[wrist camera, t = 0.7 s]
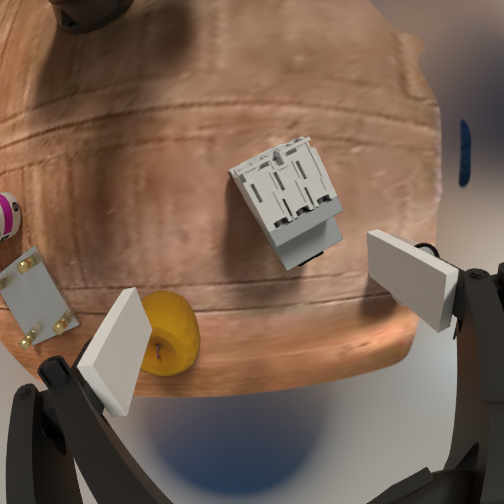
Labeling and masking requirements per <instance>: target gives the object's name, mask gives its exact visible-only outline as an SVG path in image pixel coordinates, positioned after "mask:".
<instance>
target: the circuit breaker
mask: <svg viewBox="0 0 504 504" xmlns="http://www.w3.org/2000/svg"><path fill="white" fill-rule="evenodd" d="M308 140H310V137H307V138H304V137H299V138H296V139H294V140H292V141H290V142H288V143H286V144H284V145H283V144H279V145H277V146H274V147H272V148H270V149H268V150H266V151H264V152H262V153H260V154H258V155H256V156H254V157H252V158H250V159H248V160H246V161H245V162H243V163H241V164H239V165H237V166H235V167H233V168H231V169H230V170H229V172H230V173H231V175H232V177H233V179H234V181H235V183H236V185H237V187H238V188H239V190H240V192H241V194H242V196H243V198H244V199H245V201H246V203H247V205H248V207H249V209H250V210H251V212H252V214H253V216H254V218H255V220H256V221H257V222H258V223H259V225H260V227H261V229H262V230H263V232H264V234H265V236H266V238H267V240H268V242H269V243H270V245H271V247H272V249H273V251H274V253H275V254H276V256H277V257H278V258H279V260H280V261H281V263H282V265H283V266H284V267H285V269H286V270H287V271H288V270H290V269H291V268H293V267H295V266H297V265H298V266H302V265H304V264H305V263H307V262H309V261H310V260H312V259H314V258H315V257H318V256H320V255H321V254H323V250H325V249H327V248H329V247H330V246H332V245H334V244H336V243H337V242H339V241H341V240H342V239H343V238H342V235H341V233H340V230H339V228H338V225H337V223H336V221H335V218H334V216H335V215H336V214H338V213H340V212H342V211H343V209H342V206H341V204H340V201H339V199H338V197H337V194H336V192H335V190H334V187H333V185H332V183H331V181H330V179H329V176H328V174H327V172H326V170H325V168H324V165H323V163H322V161H321V159H320V157H319V155H318V153H317V151H316V149H315V147H313V148H311V147H310V145H309V143H308Z"/></svg>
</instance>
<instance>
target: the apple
mask: <svg viewBox="0 0 504 504" xmlns="http://www.w3.org/2000/svg"><path fill="white" fill-rule="evenodd" d="M141 303H142V305H143V308H144V310H145V313H146V315H147V318H148V320H149V322H150V325H151V327H152V332H151V335H150V338H149V341H148V344H147V348H146V351H145V354H144V357H143V361H142V364H141V367H140V370H142V371H144V372H147V373H150V374H152V375H155V376H158V377H162V376H172V375H175V374H178V373H181V372H184V371H186V370H187V369H188V368H189V367H190V366H191V365H192V364H193V363H194V361H195V359H196V357H197V355H198V351H199V347H200V333H199V328H198V323H197V319H196V316H195V314H194V311H193V309H192V308H191V307H190V305H189V304H188V302H187V301H186V300H185V299H184V298H183V297H182V296H181V295H179V294H176V293H174V292H168V291H157V292H154V293H151V294H149V295H148V296H146V297H144V298H143V299H142V300H141Z"/></svg>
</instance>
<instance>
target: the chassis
mask: <svg viewBox="0 0 504 504" xmlns="http://www.w3.org/2000/svg"><path fill="white" fill-rule="evenodd" d="M0 293H1V295H2V297H3V298H4V300H5V302H6V304H7V306H8V307H9V309H10V311H11V312H12V314H13V316H14V317H15V319H16V321H17V322H18V324H19V325H20V327H21V329H22V330H23V332H24V333H25V335H26V336H25V337H24V338H23V339H22V340H21V341H20V343H19V344H20V346H21V348H22V349H24V350H27V349H28V347H29V346H30V345H31V344H32V345H35V344H37V343H39V342H42V341H44V340H46V339H49V338H51V337H53V336H55V335H61V334H62V333H63V332H64V331H67V330H69V329H71V328H73V327H76V326H78V325H80V323H81V321H80V319H79V318H78V316H77V314H76V313H75V311H74V310H73V308H72V307H71V305H70V303H69V302H68V300H67V298H66V297H65V295H64V293H63V292H62V290H61V288H60V286H59V285H58V283H57V281H56V279H55V278H54V276H53V274H52V272H51V270H50V268H49V266H48V264H47V262H46V260H45V258H44V256H43V254H42V252H41V250H40V248H39V246H38V244H37V245H35V246H33V247H32V248H31V249H29V250H28V251H27V252H25V253H24V254H23V255H22V256H20V257H19V258H18V259H16V260H15V261H14V262H13V263H12V264H10V265H9V266H8V267H7V268H5V269H4V270H3V271H2V272H1V273H0Z"/></svg>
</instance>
